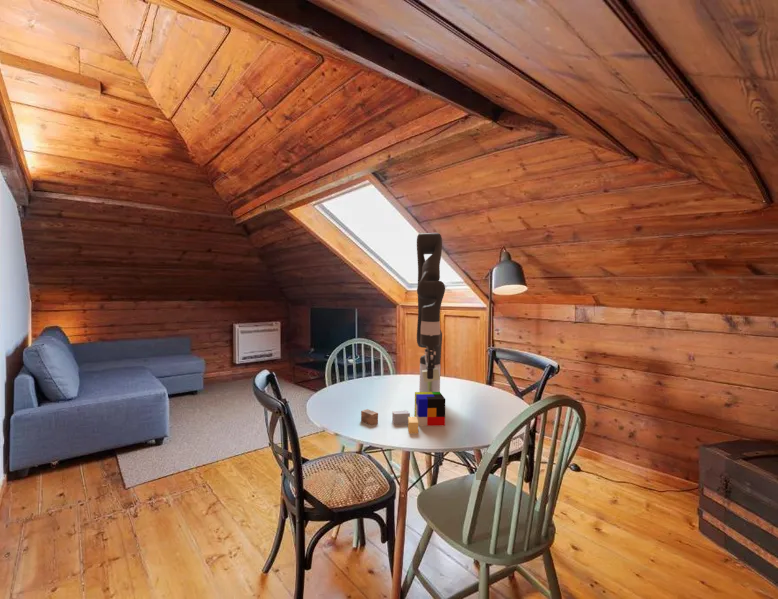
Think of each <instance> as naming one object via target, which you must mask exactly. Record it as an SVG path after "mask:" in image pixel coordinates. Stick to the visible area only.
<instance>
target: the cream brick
mask: <svg viewBox="0 0 778 599" xmlns="http://www.w3.org/2000/svg"><path fill="white" fill-rule="evenodd" d="M422 374H423V379H424V383H425V382H430V381H435V380H440V381H441V376H440V377H439V372H438V369H437V368H434V369H433V379H428V378H427V370H422Z"/></svg>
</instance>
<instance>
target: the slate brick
mask: <svg viewBox="0 0 778 599" xmlns="http://www.w3.org/2000/svg"><path fill="white" fill-rule="evenodd" d="M391 414H392V421H391V422H392V423H393V425H403V424H404V425H408V417H411V414H410V412H409V410H394V411H392V413H391Z"/></svg>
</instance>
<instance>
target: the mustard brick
mask: <svg viewBox="0 0 778 599" xmlns="http://www.w3.org/2000/svg"><path fill="white" fill-rule="evenodd" d="M407 429H408V434H419V426H418V420H417V417H414V416H410V417H408V424H407Z"/></svg>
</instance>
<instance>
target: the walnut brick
mask: <svg viewBox="0 0 778 599" xmlns="http://www.w3.org/2000/svg"><path fill="white" fill-rule="evenodd" d="M360 416H361V417H360V421H361V422H363V423H365V424H368V425H370V426H373V425H377V424H378V423H379V413H378V412H377V411H374V410H371V409H368V408H367V409H363V410H361V412H360Z"/></svg>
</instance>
